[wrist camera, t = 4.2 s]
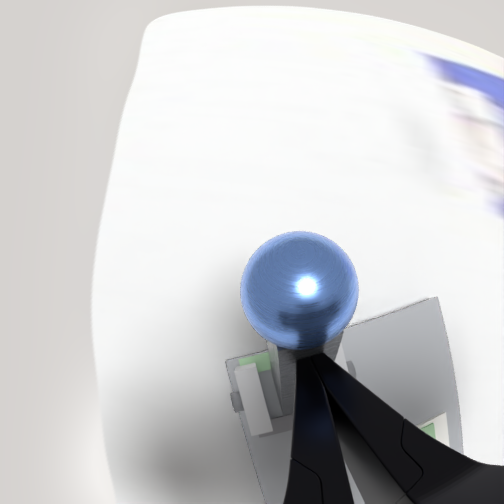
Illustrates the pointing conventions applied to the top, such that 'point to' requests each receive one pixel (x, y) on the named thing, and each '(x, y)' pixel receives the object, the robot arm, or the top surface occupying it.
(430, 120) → the top surface
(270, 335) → the lever
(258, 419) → the switch panel
